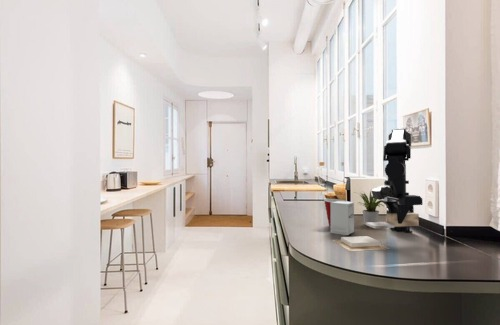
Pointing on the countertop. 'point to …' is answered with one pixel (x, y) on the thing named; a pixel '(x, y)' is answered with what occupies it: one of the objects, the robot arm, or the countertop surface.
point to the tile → (360, 241)
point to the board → (360, 247)
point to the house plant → (370, 208)
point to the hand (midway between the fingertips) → (397, 222)
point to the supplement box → (342, 217)
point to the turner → (396, 221)
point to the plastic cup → (328, 208)
